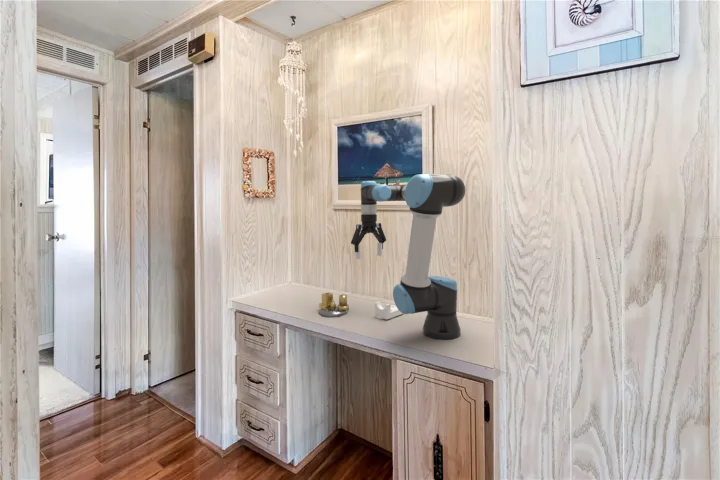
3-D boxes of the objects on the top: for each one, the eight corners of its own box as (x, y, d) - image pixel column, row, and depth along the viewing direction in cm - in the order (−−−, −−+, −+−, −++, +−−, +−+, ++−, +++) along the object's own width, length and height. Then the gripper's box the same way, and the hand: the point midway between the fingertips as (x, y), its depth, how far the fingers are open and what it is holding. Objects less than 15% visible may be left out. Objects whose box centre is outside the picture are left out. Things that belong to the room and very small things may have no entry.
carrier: (352, 313, 180) (352, 294, 179) (329, 319, 171) (328, 299, 170) (337, 307, 190) (337, 289, 189) (314, 312, 182) (314, 294, 181)
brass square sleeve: (335, 307, 184) (335, 294, 183) (325, 310, 180) (325, 296, 179) (329, 305, 188) (329, 291, 188) (319, 307, 185) (318, 293, 184)
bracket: (386, 321, 168) (386, 305, 167) (375, 318, 173) (375, 302, 172) (404, 315, 177) (404, 299, 176) (392, 311, 182) (392, 296, 181)
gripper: (383, 212, 189) (383, 253, 191) (343, 214, 173) (343, 259, 176) (393, 213, 183) (393, 255, 185) (352, 214, 167) (353, 261, 170)
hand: (369, 257), depth 180 cm, fingers open, 13 cm apart
